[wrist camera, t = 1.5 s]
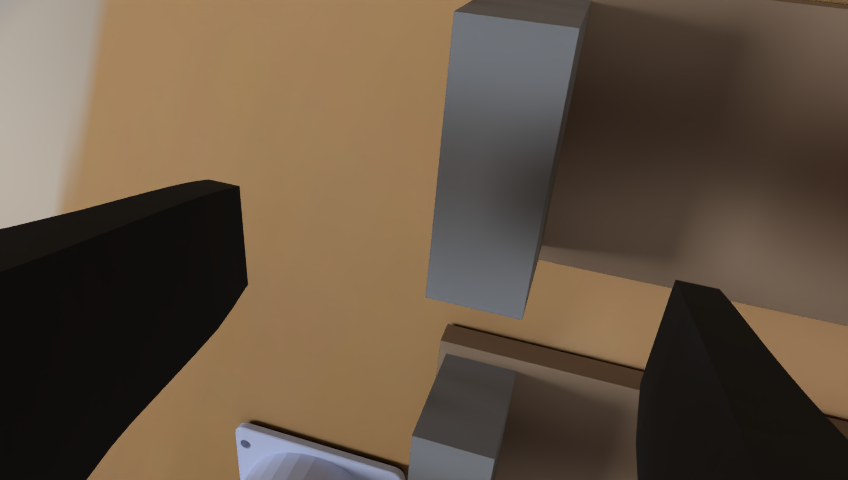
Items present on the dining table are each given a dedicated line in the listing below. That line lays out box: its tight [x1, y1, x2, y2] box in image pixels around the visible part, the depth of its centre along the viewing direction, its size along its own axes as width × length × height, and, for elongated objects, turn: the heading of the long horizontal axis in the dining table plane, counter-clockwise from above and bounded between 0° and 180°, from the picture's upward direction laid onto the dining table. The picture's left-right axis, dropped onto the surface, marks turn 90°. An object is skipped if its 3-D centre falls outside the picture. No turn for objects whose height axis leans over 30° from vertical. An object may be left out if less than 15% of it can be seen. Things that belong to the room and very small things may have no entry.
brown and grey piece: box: [426, 0, 848, 326], centre depth 14 cm, size 8×18×5 cm, turn 85°
